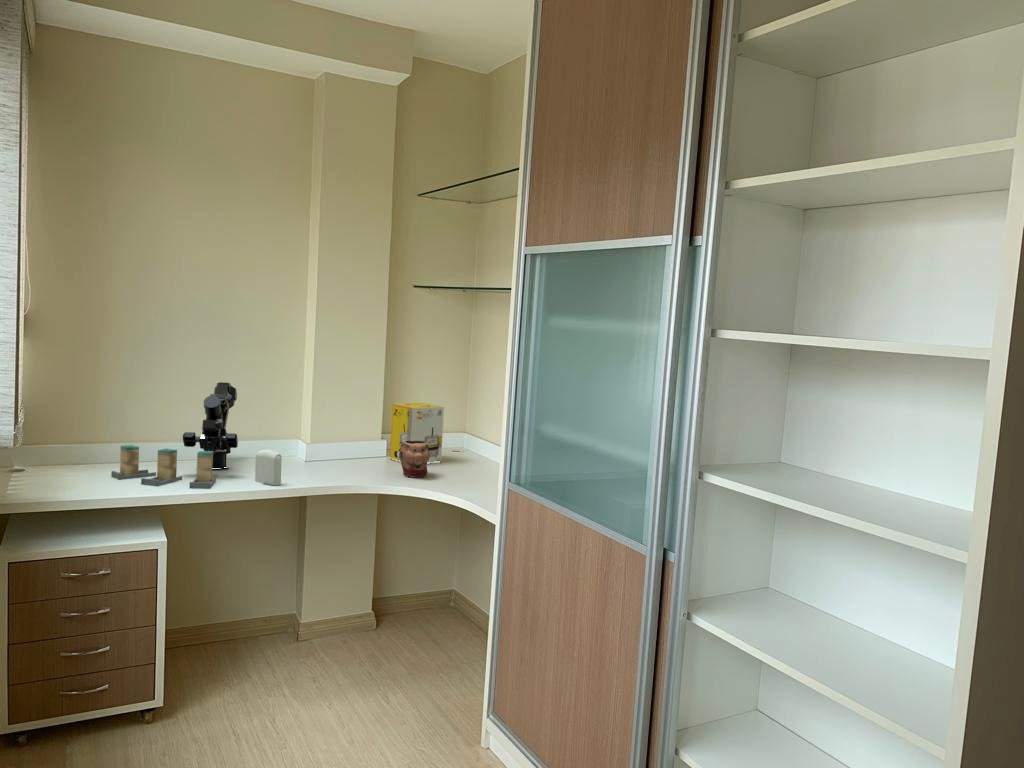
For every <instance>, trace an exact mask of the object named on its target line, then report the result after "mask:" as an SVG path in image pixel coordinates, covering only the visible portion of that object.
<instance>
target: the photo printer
mask: <svg viewBox="0 0 1024 768" xmlns="http://www.w3.org/2000/svg"><path fill="white" fill-rule="evenodd" d="M282 461H283V460H282V455H281V454H280V453H279V452H277V451H275V450H273V449H262V450H259V451H257V453H256V454H255V462H254V463H255V465H254V466H255V467H254V468H255V469H254V470H255V471H254V472H255V473H254V480H255V482H256V483H262V484H265V485H270V486H280V484H282Z"/></svg>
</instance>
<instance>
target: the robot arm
mask: <svg viewBox="0 0 1024 768" xmlns="http://www.w3.org/2000/svg"><path fill="white" fill-rule="evenodd" d="M213 391H214V392H213V393H210V394H209V396H207V397H205V399H203V408H204V413H205V415H206V416H205V417H206V418H205V419H203V420H202V427H201V429H202V430H201V433H202V434H200V435H199V436H196V432H194V431H193V432H192V431H191V432H190V431H189V432H187V431H185V432H184V433H183V434H182V441H183V446H184V447H185V448H186V447H187V448H188V447H189V448H194V447H196V445H197V443H199V448H200V449H202V451H213V463H212V468H224V467H227V457H228V456H227V455H228V454H231V453H232V452H231V451H232V450H231V449H236V448H238V447H239V446H238V444H239V441H238V434H237V433H229V432H228V433H227V429H226V428H227V424H228V423H227V422H228V417H229V412H230V409H232V408H233V407H234V406H235V402H236V401H237V399H238V398H237V397H238V393H237V388H236V387H234V386H232V384H231V383H230V382H217V383H216V386H215V387H214V390H213Z"/></svg>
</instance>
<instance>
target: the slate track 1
mask: <svg viewBox="0 0 1024 768" xmlns="http://www.w3.org/2000/svg"><path fill="white" fill-rule="evenodd" d="M149 477H151V478H152V477H157V472H156V471H155V472H154V471H153V472H149V469H139V470H138V474H134V475H124V476H122V474H121V473H120V471H118V472H117V471H115V470H111V478H114V479H117V480H119V481H124V480H131V479H141V478H149Z"/></svg>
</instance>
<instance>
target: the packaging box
mask: <svg viewBox="0 0 1024 768" xmlns="http://www.w3.org/2000/svg"><path fill="white" fill-rule="evenodd" d="M391 405H392V407H391V421H390V422H391V423H390V443H389V444H390V445H389V458H390V457H391V458H394V459H397V460H400V459H399V452H400V449H401V448H402V444H403V442H404V441H424V442H426V443H427V446H428V449H429V452H430V458H429V460H428V462H434V461H441V462H442V452H443V451H442V448H443V433H444V432H443V428H444V413H445V411H444V410H445V407H443V406H439V405H435V404H429V403H425V402H404V403H403V402H402V403H401V402H400V403H399V402H398V403H391Z"/></svg>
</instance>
